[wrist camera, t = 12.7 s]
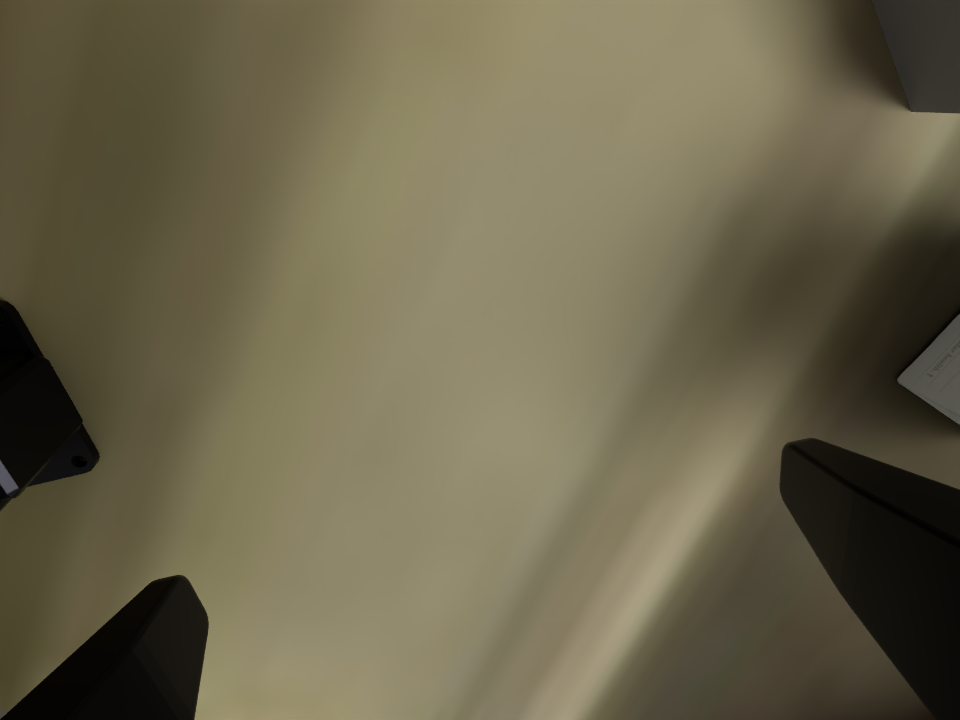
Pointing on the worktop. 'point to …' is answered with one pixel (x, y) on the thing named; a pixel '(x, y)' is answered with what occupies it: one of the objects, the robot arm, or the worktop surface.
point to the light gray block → (924, 50)
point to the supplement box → (938, 373)
